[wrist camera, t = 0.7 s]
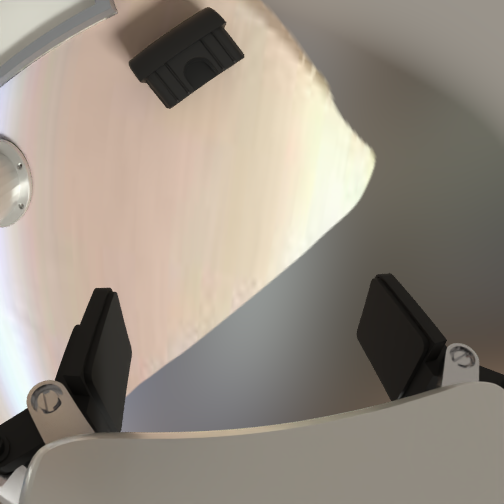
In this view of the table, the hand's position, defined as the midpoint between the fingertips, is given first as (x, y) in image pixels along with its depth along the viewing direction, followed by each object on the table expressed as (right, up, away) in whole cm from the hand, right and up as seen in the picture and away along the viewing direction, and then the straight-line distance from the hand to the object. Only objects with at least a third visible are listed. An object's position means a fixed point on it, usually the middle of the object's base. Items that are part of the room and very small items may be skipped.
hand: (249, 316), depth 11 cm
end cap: (-7, +24, +20) cm, 32 cm away
